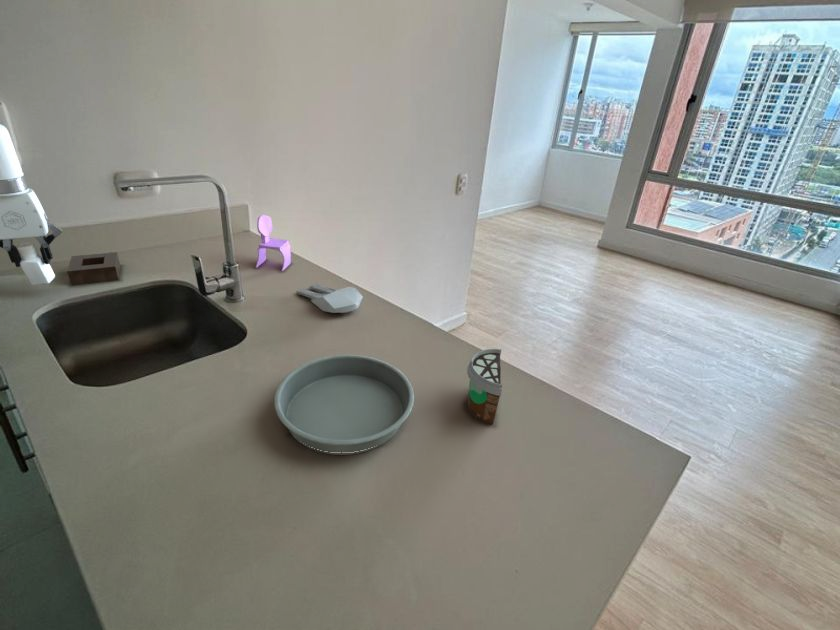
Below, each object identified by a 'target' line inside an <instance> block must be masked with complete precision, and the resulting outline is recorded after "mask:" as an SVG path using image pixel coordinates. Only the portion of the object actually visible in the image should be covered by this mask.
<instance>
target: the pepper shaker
mask: <svg viewBox="0 0 840 630" xmlns="http://www.w3.org/2000/svg"><path fill="white" fill-rule="evenodd" d="M16 248H17V250H18V251H19V253H20V256H21V258H22V260H21V261H20V265H21V266H20V268H21V269H22V271H23V273H24V274H25V277H26V278H27V280H28V281H29V284H30V285H31V286H39V285H48V284H50V283H51V282H52V281H53V280H54V279H55V278H56V274H55V273H54V270H53V268H52V265H51V264H50V263H49V264H45V262H44V260H43V257H42V254H41V253H39V252H38V249H37V248H36V245H35V243H33V242H24V243H20V244H18V245H16Z"/></svg>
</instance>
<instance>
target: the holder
mask: <svg viewBox="0 0 840 630" xmlns="http://www.w3.org/2000/svg"><path fill="white" fill-rule="evenodd" d="M66 273H67V277H68V279H69V283H70V285H71V286H79V285H81V286H82V285H88V284H97V283H106V282H115V281H119V280H120V273H121V263H120V258H119V254H118V252H117V251H116V252H115V251H114V252H105V253H104V252H103V253H92V254H82V255H71V257H70V260H69V264H68V267H67V269H66Z"/></svg>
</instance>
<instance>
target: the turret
mask: <svg viewBox="0 0 840 630" xmlns="http://www.w3.org/2000/svg"><path fill="white" fill-rule="evenodd" d="M309 289H311V290H309ZM309 289H305V288H300V289H298V290H296V293H297V294H298V295H300V296H303V297H306V298H309V299H311V300H310V301H311V303H313V304H314V305H315V306H316V307H318V309H320V310H321V311H322V312H326V313H332V314H336V313H339V314H346V313H349V312H353V311H356V310H357V309H358V308H359V307H360V304H361V302H362V300H363V295H362V294H361V293H360V292H359V290H358V289H357V288H356V287H354V286H346V287H342V288H340V289H335V288H330V287H328V286H322V285H320V284H316V283H315V284H313V285H310V286H309Z"/></svg>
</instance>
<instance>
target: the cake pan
mask: <svg viewBox="0 0 840 630" xmlns="http://www.w3.org/2000/svg"><path fill="white" fill-rule="evenodd" d="M273 400H274V402H273V403H274V409H275V413H276V415H277V417H278V419H279V420H280V422H281V423H282V424H283V425H284V426H285V427H286V428H287V429H288V431H289V432H290V434H291V436H293V435H294V436H295V437H296V438H295V437H294V436H293V438H294V439H295V440H296V441H297V442H298V443H300V444H301V445H303V446H304V447H306V448H308V449H310V450H313V451H315V452H318V453H321V454H327V455H331V456H333V455H334V456H351V455H357V454H363V453H365V452H369V451H372V450H374V449H377V448H379V447H380V446H382V445H383V444H385V443H387V442H388V441H389V440H390V439H392V438H393V437H394V435H395V434H397V432H398V431H399V429H400V427H401V425H402V424H403V423H404V422H405V421H406V420H407V418H409V415H410V414H411V412H412V410H413V407H414V402H415V393H414V389H413V386H412V384H411V382H410V380H409V379H408V377H407V376H406V375H405V374H404V373H403V372H402V371H401V370H400V369H398V368H397V367H395V366H394V365H392V364H390V363H388V362H386V361H384V360H381V359H379V358H375V357H371V356H366V355H360V354H359V355H358V354H335V355H328V356H323V357H320V358H315V359H313V360H310V361H307V362H305V363H303V364H301V365H300V366H298V367H296V368H294V369H293V370H292V371H291V372H289V373H288V374H287V375H286V376H285V377H284V378H283V379H282V380H281V382H280V383H279V385H278V387H277V389H276V391H275V393H274V399H273ZM300 441H301V442H300ZM303 443H304V444H303ZM305 444H306V445H305ZM376 445H377V446H376ZM309 446H310V447H309ZM374 446H375V447H374ZM311 447H313V448H311ZM371 447H373V448H371ZM314 448H315V449H314ZM368 448H370V449H368ZM317 449H319V450H317ZM364 449H367V450H364ZM320 450H322V451H320ZM360 450H364V451H360ZM324 451H328V452H324ZM354 451H359V452H354ZM330 452H341V453H330ZM342 452H354V453H342Z"/></svg>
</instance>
